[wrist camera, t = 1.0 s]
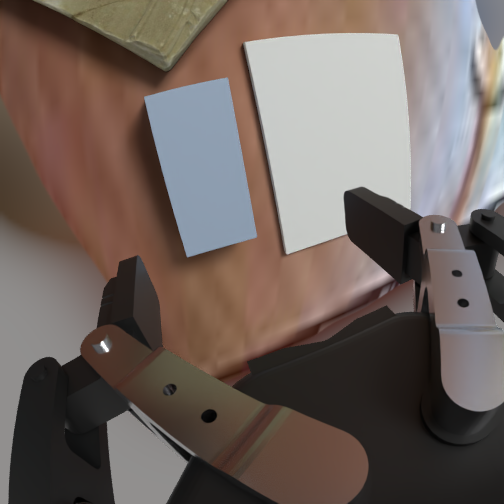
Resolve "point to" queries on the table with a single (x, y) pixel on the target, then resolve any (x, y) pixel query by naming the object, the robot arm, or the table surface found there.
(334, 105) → the mat
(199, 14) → the decorative tile
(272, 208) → the table surface
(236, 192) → the block
